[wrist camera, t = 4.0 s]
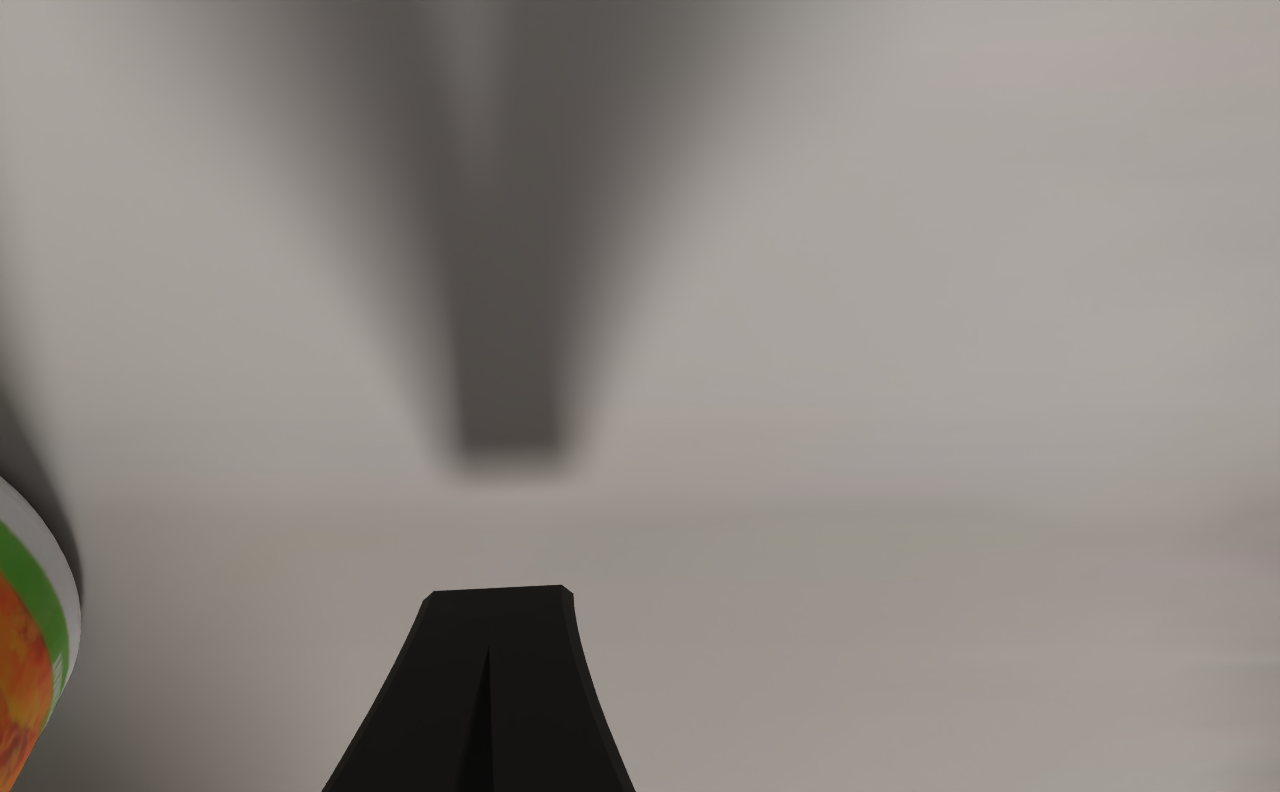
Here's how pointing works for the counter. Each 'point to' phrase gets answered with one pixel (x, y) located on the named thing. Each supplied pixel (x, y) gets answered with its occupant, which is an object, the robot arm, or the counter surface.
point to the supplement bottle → (31, 629)
